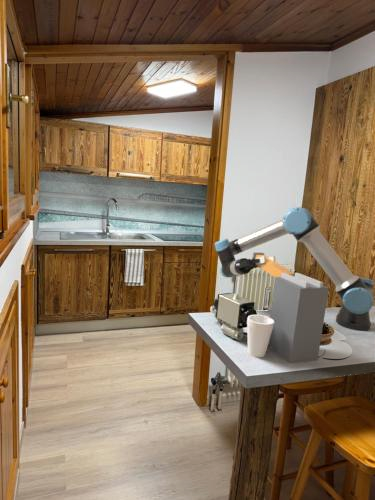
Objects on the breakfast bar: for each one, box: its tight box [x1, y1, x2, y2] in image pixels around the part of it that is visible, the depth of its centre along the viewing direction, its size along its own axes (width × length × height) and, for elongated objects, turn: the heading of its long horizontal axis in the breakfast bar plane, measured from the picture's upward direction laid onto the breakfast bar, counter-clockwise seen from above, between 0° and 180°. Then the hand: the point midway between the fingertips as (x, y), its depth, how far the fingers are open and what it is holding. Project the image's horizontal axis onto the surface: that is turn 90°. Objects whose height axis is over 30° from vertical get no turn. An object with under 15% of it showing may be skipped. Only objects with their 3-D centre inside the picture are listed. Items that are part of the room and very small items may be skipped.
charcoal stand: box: [268, 272, 330, 364], centre depth 128 cm, size 12×15×29 cm
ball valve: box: [213, 292, 258, 341], centre depth 139 cm, size 18×8×18 cm, turn 36°
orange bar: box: [251, 252, 295, 278], centre depth 145 cm, size 5×23×5 cm, turn 22°
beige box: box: [209, 304, 223, 324], centre depth 154 cm, size 9×7×10 cm
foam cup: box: [246, 314, 274, 358], centre depth 126 cm, size 10×9×13 cm
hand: (269, 259), depth 146 cm, fingers closed on orange bar, 4 cm apart
